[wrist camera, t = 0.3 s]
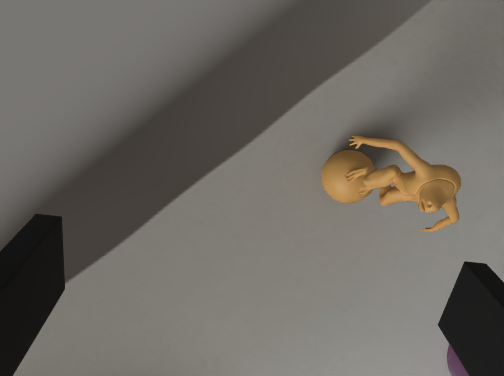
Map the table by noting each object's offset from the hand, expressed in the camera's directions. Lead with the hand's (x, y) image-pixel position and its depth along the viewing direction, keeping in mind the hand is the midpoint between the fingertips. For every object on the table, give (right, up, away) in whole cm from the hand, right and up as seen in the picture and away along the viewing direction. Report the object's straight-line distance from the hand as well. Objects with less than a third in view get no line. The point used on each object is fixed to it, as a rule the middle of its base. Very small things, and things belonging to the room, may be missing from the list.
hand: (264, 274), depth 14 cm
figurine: (+7, +5, +19) cm, 21 cm away
